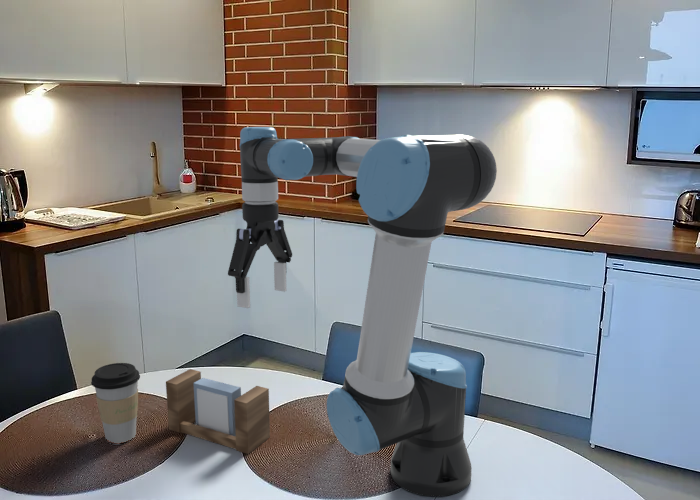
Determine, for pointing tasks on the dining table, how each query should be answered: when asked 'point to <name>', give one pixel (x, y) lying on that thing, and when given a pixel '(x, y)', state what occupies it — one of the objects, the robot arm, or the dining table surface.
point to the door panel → (215, 405)
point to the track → (248, 414)
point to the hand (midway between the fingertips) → (262, 298)
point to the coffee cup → (117, 400)
